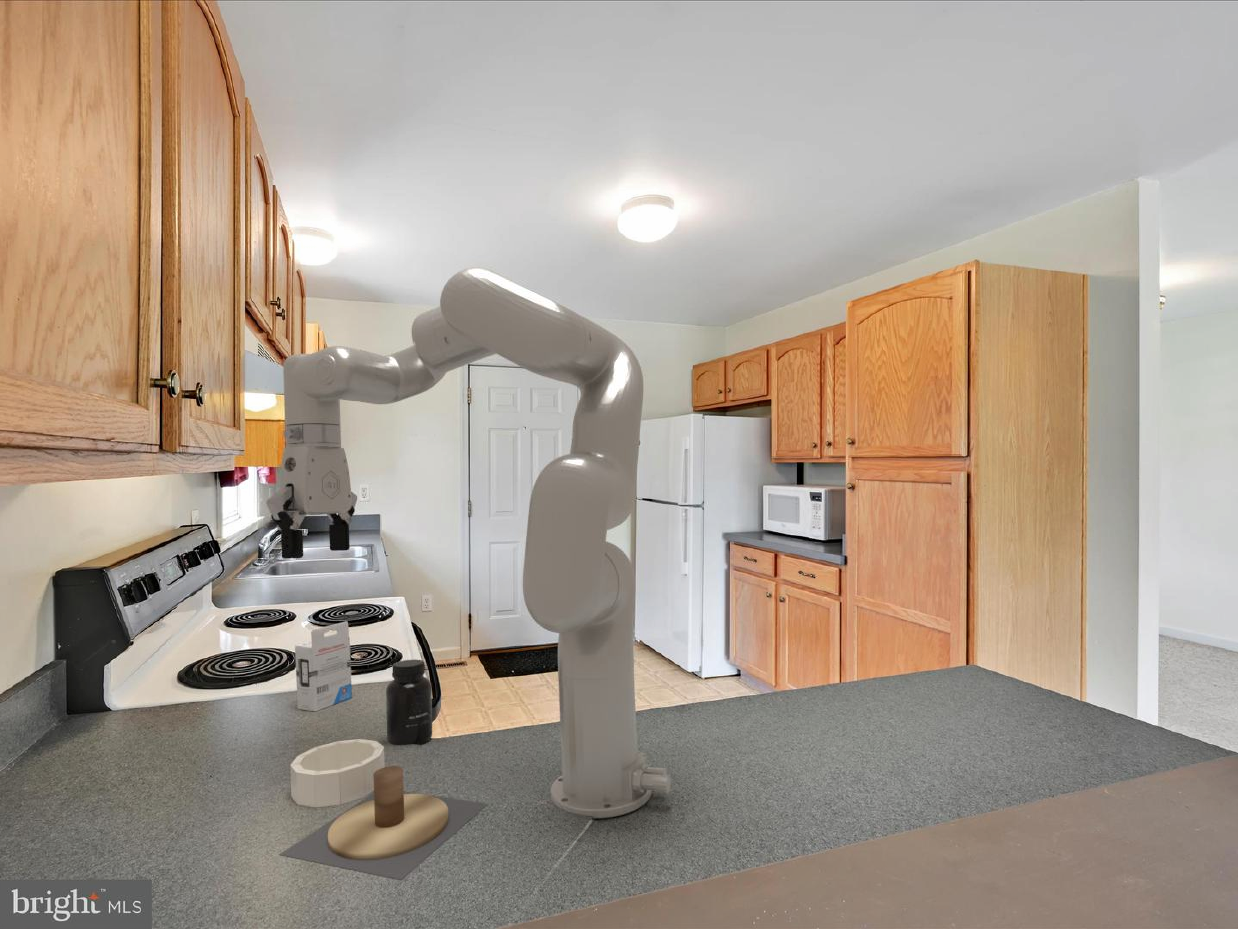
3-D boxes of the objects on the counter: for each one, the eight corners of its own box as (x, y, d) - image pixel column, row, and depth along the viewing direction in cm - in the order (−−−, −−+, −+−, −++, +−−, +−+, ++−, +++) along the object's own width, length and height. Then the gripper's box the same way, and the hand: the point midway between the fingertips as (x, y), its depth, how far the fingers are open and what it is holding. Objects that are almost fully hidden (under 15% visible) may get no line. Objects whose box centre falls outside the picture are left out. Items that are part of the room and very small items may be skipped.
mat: (488, 808, 81) (488, 803, 81) (401, 885, 66) (401, 879, 66) (381, 792, 86) (381, 788, 86) (279, 860, 71) (279, 854, 71)
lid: (470, 808, 80) (468, 755, 80) (398, 869, 68) (396, 806, 68) (382, 794, 84) (381, 744, 85) (301, 849, 72) (299, 790, 72)
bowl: (401, 777, 91) (400, 744, 91) (341, 816, 80) (340, 778, 81) (337, 768, 95) (336, 736, 95) (273, 804, 84) (271, 768, 84)
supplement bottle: (419, 749, 100) (416, 669, 100) (378, 748, 101) (375, 669, 102) (440, 732, 107) (438, 657, 107) (401, 731, 108) (399, 657, 108)
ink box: (335, 695, 129) (332, 619, 130) (353, 698, 127) (350, 620, 127) (295, 709, 122) (293, 628, 122) (314, 712, 119) (311, 630, 120)
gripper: (290, 433, 89) (294, 561, 89) (372, 440, 106) (375, 547, 106) (245, 437, 92) (249, 561, 91) (332, 442, 108) (336, 548, 108)
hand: (317, 554), depth 98 cm, fingers open, 9 cm apart
